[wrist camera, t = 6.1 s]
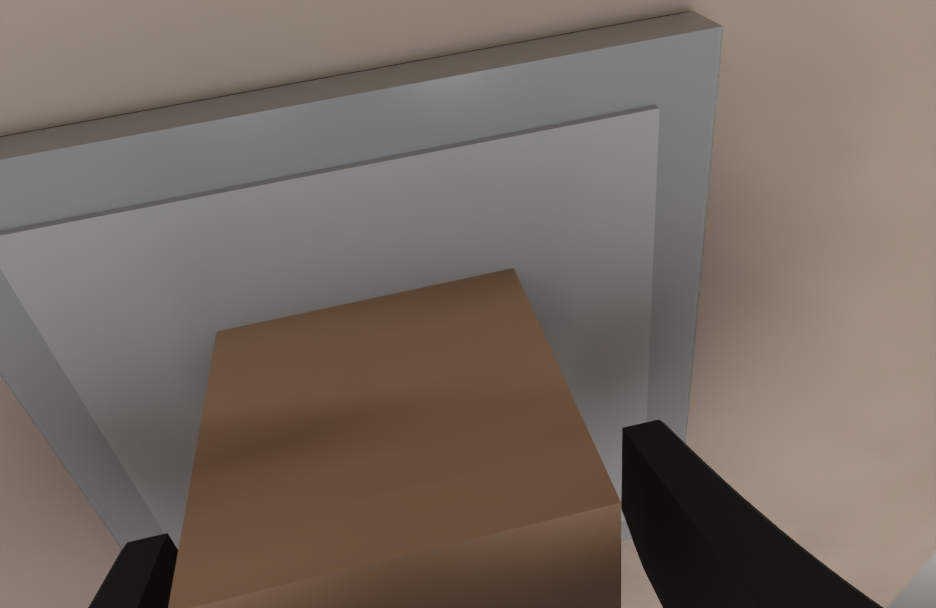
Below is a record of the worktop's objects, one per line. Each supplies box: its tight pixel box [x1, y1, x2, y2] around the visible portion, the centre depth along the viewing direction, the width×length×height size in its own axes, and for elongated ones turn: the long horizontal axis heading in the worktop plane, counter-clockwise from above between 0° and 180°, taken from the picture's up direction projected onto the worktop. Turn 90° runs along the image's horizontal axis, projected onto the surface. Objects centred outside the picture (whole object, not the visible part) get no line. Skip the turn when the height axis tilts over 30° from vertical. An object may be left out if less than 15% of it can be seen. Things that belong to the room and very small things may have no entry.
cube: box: [168, 268, 621, 608], centre depth 11 cm, size 5×5×5 cm
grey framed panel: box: [0, 11, 723, 549], centre depth 14 cm, size 12×12×1 cm
